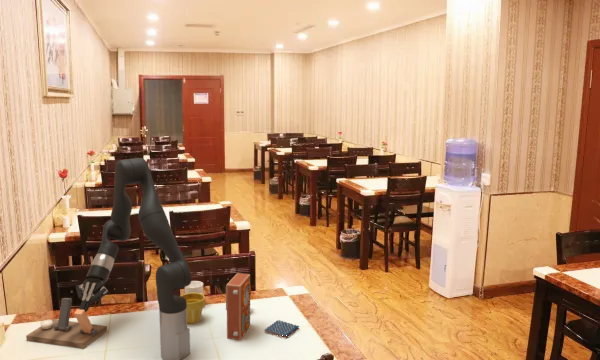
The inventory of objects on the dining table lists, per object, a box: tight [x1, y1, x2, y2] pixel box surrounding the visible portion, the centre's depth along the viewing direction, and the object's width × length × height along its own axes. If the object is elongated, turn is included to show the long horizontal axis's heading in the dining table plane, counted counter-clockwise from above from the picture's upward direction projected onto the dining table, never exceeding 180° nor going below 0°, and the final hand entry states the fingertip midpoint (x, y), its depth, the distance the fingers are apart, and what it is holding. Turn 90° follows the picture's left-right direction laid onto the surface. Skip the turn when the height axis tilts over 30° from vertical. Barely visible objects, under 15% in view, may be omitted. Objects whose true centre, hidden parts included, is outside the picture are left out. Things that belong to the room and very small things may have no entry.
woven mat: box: [263, 319, 300, 339], centre depth 192 cm, size 10×11×2 cm
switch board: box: [25, 318, 108, 350], centre depth 185 cm, size 24×14×4 cm, turn 77°
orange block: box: [73, 308, 94, 334], centre depth 180 cm, size 3×2×12 cm, turn 77°
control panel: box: [225, 272, 252, 341], centre depth 189 cm, size 21×7×15 cm
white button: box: [40, 319, 53, 329], centre depth 187 cm, size 4×4×2 cm
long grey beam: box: [58, 297, 73, 330], centre depth 186 cm, size 3×2×12 cm, turn 77°
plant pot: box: [180, 293, 206, 325], centre depth 199 cm, size 10×10×10 cm
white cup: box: [184, 280, 204, 295], centre depth 212 cm, size 8×8×10 cm
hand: (82, 311), depth 179 cm, fingers closed
